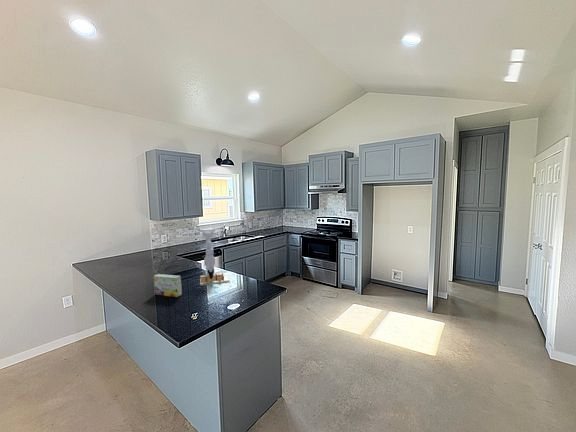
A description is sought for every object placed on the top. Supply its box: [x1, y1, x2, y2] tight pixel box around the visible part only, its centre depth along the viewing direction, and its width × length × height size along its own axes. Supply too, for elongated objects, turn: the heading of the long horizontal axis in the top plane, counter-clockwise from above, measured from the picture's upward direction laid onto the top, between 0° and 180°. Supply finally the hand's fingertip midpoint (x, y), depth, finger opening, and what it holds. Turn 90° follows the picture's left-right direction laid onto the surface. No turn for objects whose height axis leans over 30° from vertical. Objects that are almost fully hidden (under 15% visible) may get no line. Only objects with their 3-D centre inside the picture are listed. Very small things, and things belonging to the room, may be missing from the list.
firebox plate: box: [199, 273, 230, 286], centre depth 229 cm, size 16×24×5 cm, turn 108°
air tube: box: [200, 272, 223, 282], centre depth 229 cm, size 18×4×4 cm, turn 108°
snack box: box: [153, 273, 183, 298], centre depth 199 cm, size 21×6×15 cm, turn 73°
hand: (211, 277), depth 229 cm, fingers closed on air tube, 4 cm apart
